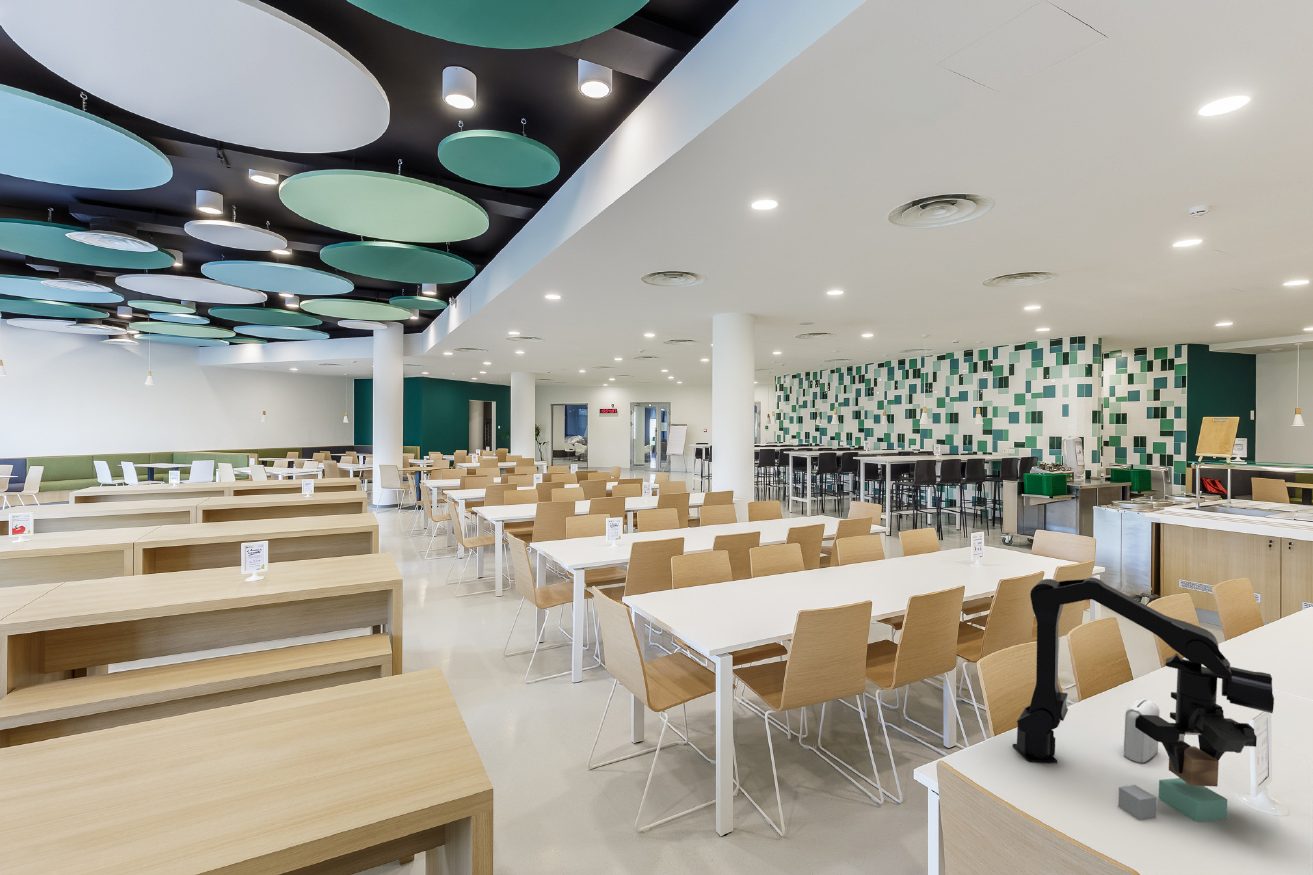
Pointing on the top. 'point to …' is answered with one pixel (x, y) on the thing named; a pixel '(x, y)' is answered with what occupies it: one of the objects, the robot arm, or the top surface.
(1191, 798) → the teal base block
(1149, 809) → the slate block
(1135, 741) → the photo printer
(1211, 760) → the walnut cube
